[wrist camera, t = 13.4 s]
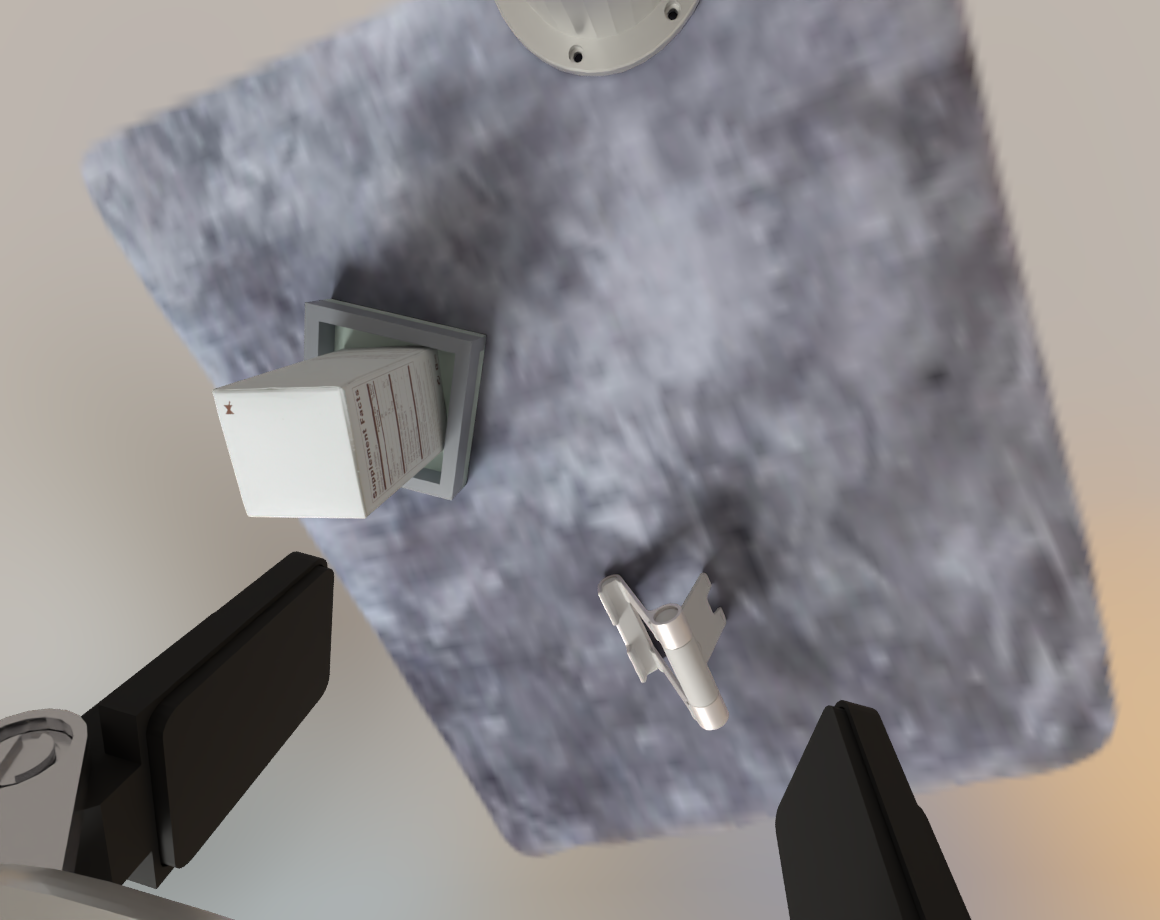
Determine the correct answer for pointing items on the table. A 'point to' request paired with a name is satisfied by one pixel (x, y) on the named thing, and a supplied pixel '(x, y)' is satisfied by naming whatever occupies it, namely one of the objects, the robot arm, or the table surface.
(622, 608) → the portable electronic device stand
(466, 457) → the tray
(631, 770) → the table surface
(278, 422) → the supplement box
